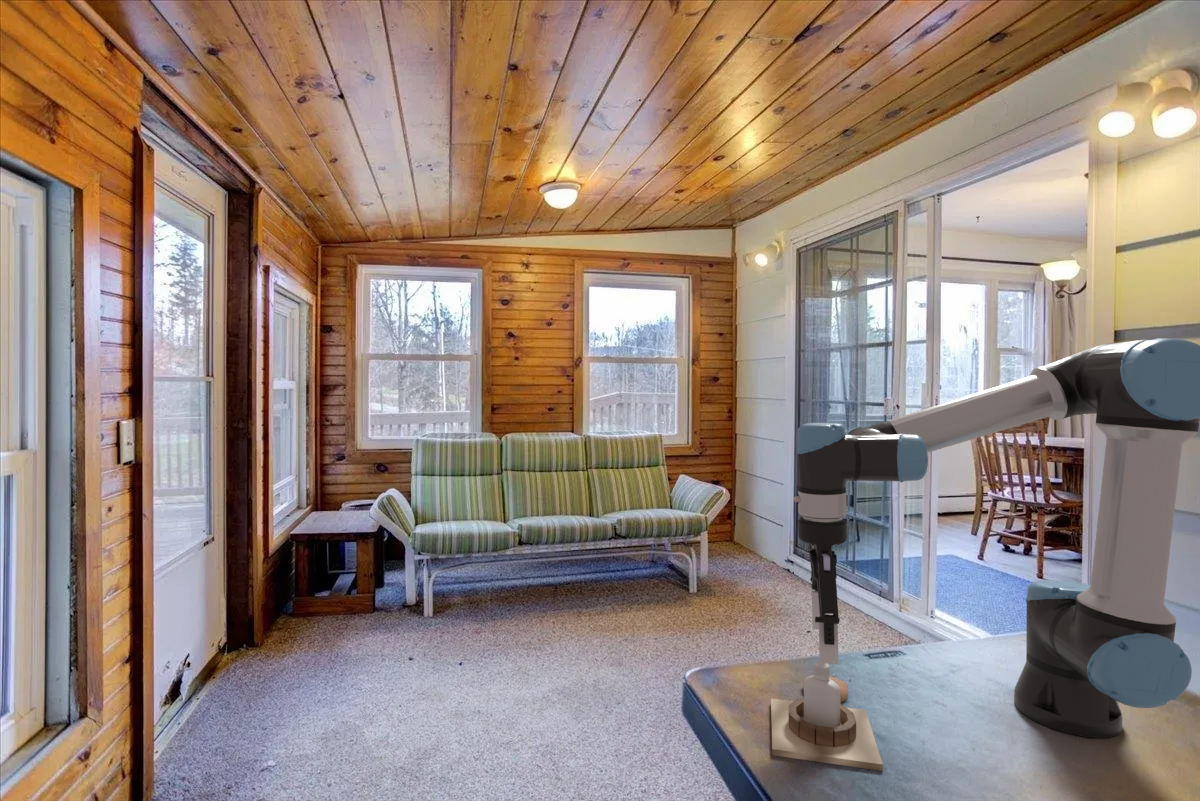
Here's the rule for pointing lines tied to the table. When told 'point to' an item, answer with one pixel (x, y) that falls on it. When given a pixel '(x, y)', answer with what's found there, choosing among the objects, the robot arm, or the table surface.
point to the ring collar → (824, 737)
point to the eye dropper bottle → (821, 698)
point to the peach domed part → (841, 685)
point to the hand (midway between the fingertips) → (824, 644)
